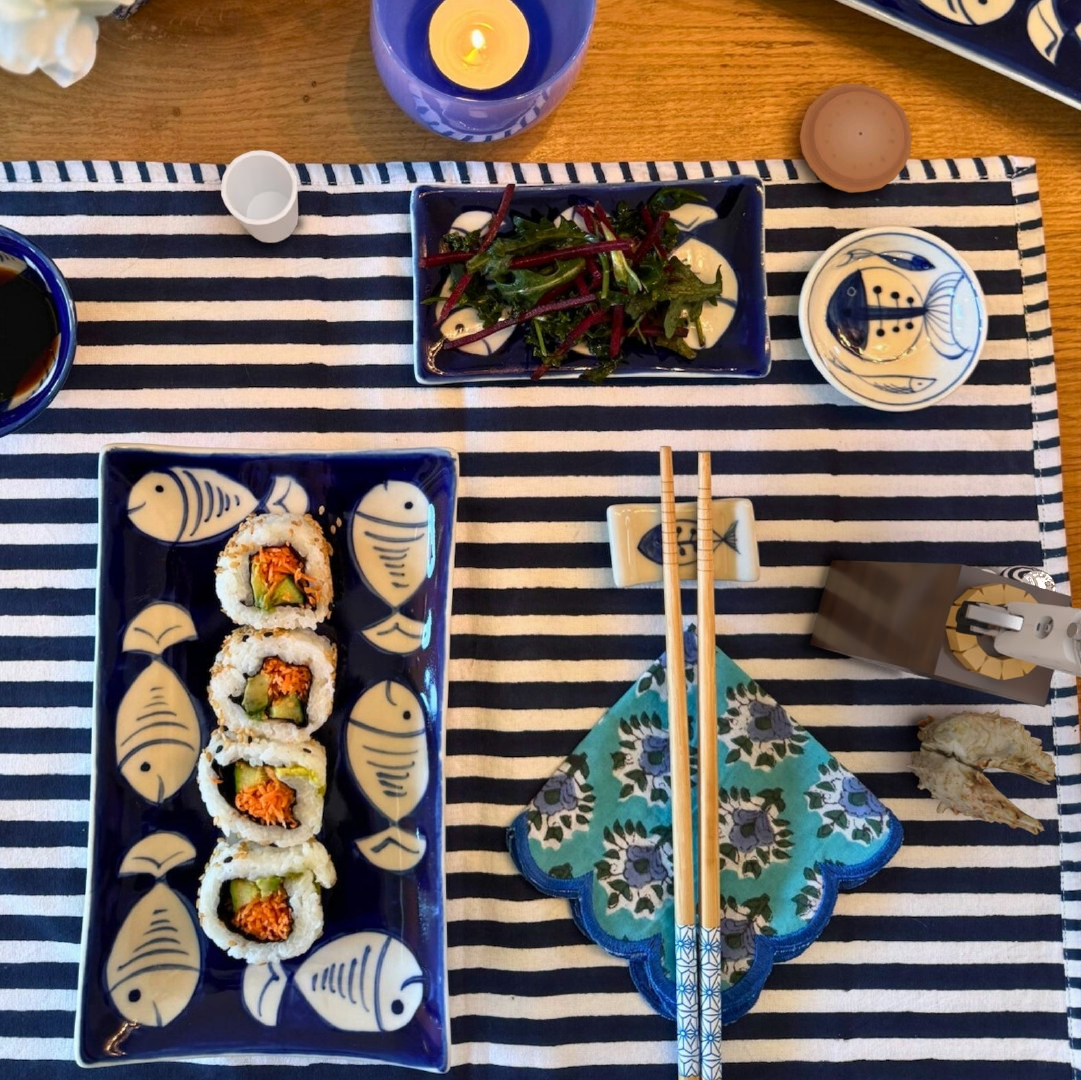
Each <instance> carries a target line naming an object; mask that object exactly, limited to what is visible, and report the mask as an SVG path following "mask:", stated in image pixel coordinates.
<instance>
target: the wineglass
mask: <svg viewBox="0 0 1081 1080" xmlns="http://www.w3.org/2000/svg"><path fill="white" fill-rule="evenodd" d="M980 570H983V571H987V572H990V573H994V574H997V573H996V572H995V571H994V570H992V569H988V568H982V569H980ZM998 575H1000V576H1004V577H1007V578H1010V579H1014V580H1017V581H1021V582H1024V583H1027V584H1031V585H1034V586H1038V587H1041V588H1044V589H1048V590H1051V591H1055V592H1057V589H1056V587H1057V586H1056V583H1055V581H1054V579H1053V578H1052V577H1051V575H1050V574H1049V573H1047V572H1046V571H1044V570H1042V569H1039V568H1037V567H1034V566H1030V565H1025V564H1024V565H1022V564H1017V565H1012V566H1008V567H1007V568H1005V569H1003V570H1002V571H1001V572H1000V573H999V574H998Z"/></svg>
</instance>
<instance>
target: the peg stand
mask: <svg viewBox="0 0 1081 1080" xmlns="http://www.w3.org/2000/svg"><path fill="white" fill-rule="evenodd" d="M991 583H994V584H1007V585H1010V586H1013V587H1016V588H1018V589H1021V590H1024V591H1026V592H1025V593H1029V594H1030V595H1031V596H1032V597H1033V598H1034V599H1035V600H1036V601H1037V602H1038V604H1047V605H1055V606H1063V607H1071V603H1072V599H1073V596H1072V595H1067V594H1064V593H1062V592H1058V591H1056V592H1055V591H1051V590H1048V589H1044V588H1041V587H1038V586H1034V585H1031V584H1027V583H1024V582H1021V581H1017V580H1014V579H1010V578H1007V577H1004V576H1000V575H999V574H998V573H996V574H994V573H990V572H987V571H983V570H981V569H979V568H976V567H973V566H969V565H966V564H961V563H934V562H933V563H932V562H931V563H929V562H903V561H896V562H895V561H867V560H864V561H863V560H839V559H838V560H837V559H836V560H834V559H832V560H831V562H830V565H829V569H828V573H827V577H826V580H825V584H824V588H823V592H822V596H821V599H820V603H819V608H818V610H817V613H816V617H815V622H814V626H813V629H812V633H811V638H810V641H809V645H810V646H812V647H813V646H814V647H817V648H820V649H823V650H827V651H829V652H834V653H837V654H840V655H843V656H847V657H850V658H854V659H857V660H861V661H864V662H867V663H870V664H873V665H877V666H881V667H883V668H887V669H890V670H895V671H898V672H902V673H906V674H910V675H914V676H918V677H922V678H926V679H930V680H934V681H938V682H942V683H946V684H949V685H954V686H958V687H962V688H966V689H970V690H974V691H978V692H982V693H986V694H989V695H994V696H996V697H997V696H998V697H1001V698H1006V699H1009V700H1014V701H1017V702H1021V703H1026V704H1030V705H1033V706H1038V707H1042V708H1046V704H1047V700H1048V696H1049V692H1050V688H1051V684H1052V679H1053V676H1054V671H1055V670H1053V669H1050V668H1046V667H1043V666H1039V665H1036V666H1035V667H1034V668H1033V669H1032V670H1031V671H1030V672H1029V673H1028V674H1024V673H1023V675H1024V676H1021V677H1016V678H1011V679H1006V680H1001V679H999V680H998V679H994V678H989V677H986V676H983V675H980V674H977V673H974V672H972V671H970V669H967V668H965V667H964V665H963V664H962V663H961V662H960V661H959V660H958V659H957V658H956V657H955V655H954V654H953V652H954V651H955V650H951V649H950V645H949V641H948V637H947V632H946V629H948V628H952V627H949V626H946V623H947V619H948V616H949V613H950V609H951V606H956V605H955V603H954V602H955V601H956V600H957V599H958V598H959V597H960V596H962V595H963V594H964V593H965V592H966V591H967V590H968V589H972V587H976V586H981V585H986V584H991ZM994 606H998V607H1003V608H1006V607H1004V606H1002V605H994ZM999 627H1000V626H996V625H992V624H988V629H992V630H996V631H999ZM1011 631H1013V632H1018V631H1015V630H1011ZM995 638H996V637H994V636H990V635H985V634H984V635H983V636H982V637H980V636H976V639H977V643H978V645H979V646H980V647H981V648H982V650H983V651H984V652H985V653H986V654H987V655H988V656H991V657H994V658H996V657H1001V656H1006V655H1004V654H1001V653H999V652H998V651H997V650H996V649H995V648H994V642H995Z"/></svg>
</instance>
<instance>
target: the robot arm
mask: <svg viewBox="0 0 1081 1080" xmlns="http://www.w3.org/2000/svg"><path fill="white" fill-rule="evenodd" d="M1004 607H1006V608H1003V607H998V606H993V605H990V604H989V603H985V602H976V601H963V603H962V606H961V607H960V608H959V609H958V610H957V613H956V617H955V621H956V623H957V625H956V632H958V633H961V634H967V635H974V636H980V637H982V636H983V635H984V634H985V635H990V636H994V637H996V638H995V642H994V648H995V649H996V650H997V651H998V652H999V653H1001V654H1004V655H1007V656H1010V657H1013V658H1016V659H1019V660H1023V661H1026V662H1029V663H1033V664H1036V665H1039V666H1043V667H1046V668H1050V669H1053V670H1054V671H1056V672H1060V673H1064V674H1068V675H1071V676H1074V677H1075V676H1076V677H1078V678H1081V608H1080V607H1079V608H1078V607H1072V606H1070V607H1063V606H1055V605H1047V604H1037V603H1027V602H1010V603H1008V604H1006V605H1005V606H1004ZM1015 615H1016V616H1015ZM988 624H992V625H996V626H1000V627H999V631H996V630H992V629H988ZM1011 630H1015V631H1018V632H1013V631H1011Z"/></svg>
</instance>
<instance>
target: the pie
mask: <svg viewBox="0 0 1081 1080" xmlns="http://www.w3.org/2000/svg"><path fill="white" fill-rule="evenodd" d="M910 125H911V124H910V121H909V119H908V117H907V115H906V113H905V110H904V108H903V107H902V106H901V105H900V104H899V103H898V102H896V101H895V99H893V98H892V97H890V96H889V95H888V94H886V93H885V92H883V91H881V90H880V89H878V88H875V87H872V86H868V85H865V84H860V83H858V84H857V83H842V84H840V85H836V86H833V87H830V88H828V89H827V90H825V91H824V92H823V93H821V94H820V95H818V96H817V97H816V98H815V99H814V101H813V102H811V104H810V105H809V106H808V108H807V109H806V112H805V114H804V117H803V119H802V122H801V127H800V133H799V137H798V138H799V142H800V149H801V154H802V156H803V157H804V159H805V161H806V163H807V164H808V167H809V168H810V169H811V170H812V172H813V173H814V174H815V176H816V177H817V178H818V179H819V180H820V181H822V182H823V183H825V184H826V185H828V186H830V187H832V188H833V189H836V190H840V191H843V192H846V193H849V194H850V193H865V192H871V191H874V190H879V189H882V188H883V187H885V186H886V185H889V183H891V182H892V181H894V180H895V179H896V178H897V176H898V175H899V174H900V173H901V172H902V171H903V169H904V168H905V166H906V164H907V162H908V159H909V157H910V155H911V151H912V141H913V138H912V130H911V126H910Z"/></svg>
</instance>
